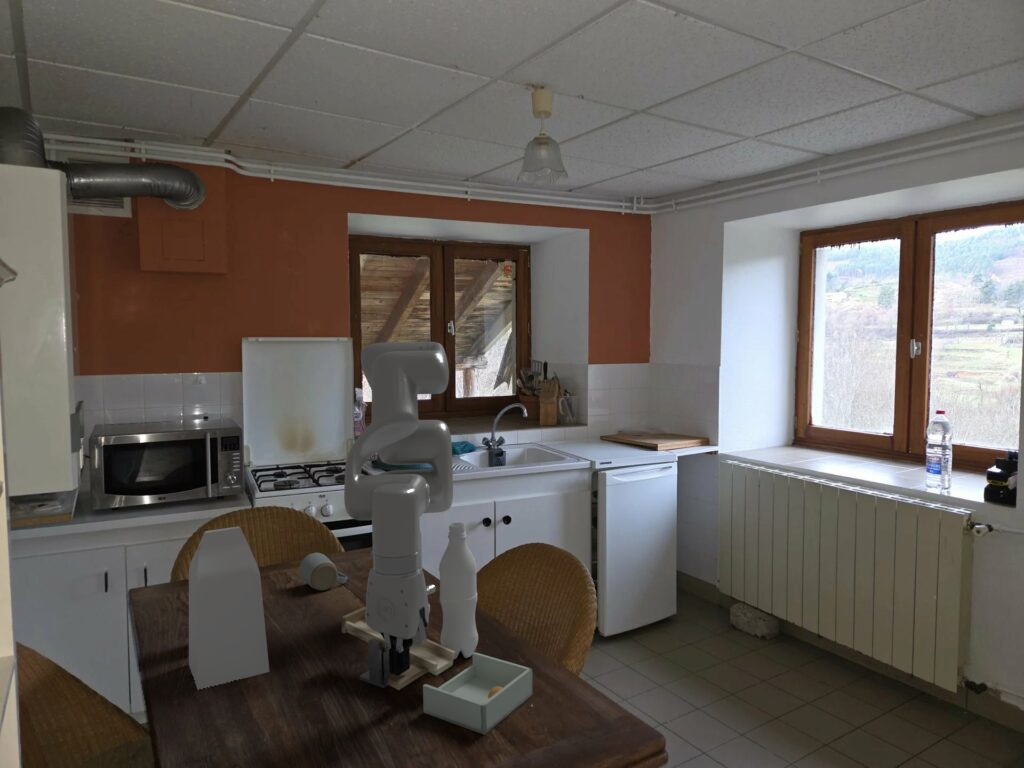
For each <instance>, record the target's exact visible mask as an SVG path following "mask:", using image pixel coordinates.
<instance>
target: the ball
mask: <svg viewBox="0 0 1024 768" xmlns="http://www.w3.org/2000/svg"><path fill="white" fill-rule="evenodd" d="M501 689H502V687H499V686H497V687H494V688H492V689H491V690H490V692H489V694H488V699H489V698H490V697H492V696H493V695H494V694H496V693H497V692H498V691H500V690H501Z"/></svg>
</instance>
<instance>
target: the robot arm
mask: <svg viewBox="0 0 1024 768" xmlns="http://www.w3.org/2000/svg"><path fill="white" fill-rule="evenodd" d="M360 363H361V367H362V372H363V375H364V377H365V379H366V381H367V383H368V385H369V388H370V390H371V422H370V424H369V425H368V426H367V427H366V428H365V430H363V431H362V432H361V433H360V434H359V436H358V437H357V438H356V439H355V440H354V443H353V444H352V446H351V447H350V450H349V452H348V454H347V457H346V461H345V468H344V486H343V487H344V488H343V489H344V490H343V491H344V492H343V494H344V495H343V498H344V499H343V500H344V501H343V502H344V508H345V511H346V513H347V515H348V516H349V517H350V518H351V519H353V520H355V521H371V528H372V529H371V531H372V550H371V551H370V557H371V558H372V560H373V561H372V562H373V563H372V564H373V565H372V566H373V567H371V568H370V569H369V572H368V579H367V584H366V595H365V597H366V598H365V600H366V601H365V607H366V623H367V625H368V626H369V627H370V628H371V629H373V630H375V631H377V632H378V633H380V634H381V635H382V637H383V638H384V640H385V646H386V648H387V649H389V672H390V673H391V674H395V675H397V676H399V675H400V674H402V673H404V672H405V671H407V670H408V669H409V668H410V647H411V646H412V645H413V644H422V643H423V642H425V641H426V640H427V639H428V638H427V634H426V630H428V628H429V623H430V621H429V620H430V617H429V616H430V612H431V605H430V603H429V598H428V596H430V595H431V594H434V593H435V592H436V591H437V589H436V586H435V585H434V584H431V583H430V584H429V585H427V584H426V580H425V575H424V570H423V550H422V549H423V548H422V546H423V545H422V541H423V540H422V533H421V529H420V525H421V523H420V517H421V516H423V515H424V514H436V513H443V512H446V511H448V510H449V509H450V508H451V507H452V505H453V499H454V481H453V480H454V478H453V476H454V474H453V473H454V471H453V444H452V435H451V431H450V428H449V426H448V425H447V423H446V422H444V421H443V420H438V419H422V420H421V419H419V406H418V405H419V403H418V402H419V401H418V395H436V394H437V395H438V394H443V393H444V392H445V391H446V390H447V387H448V385H449V379H450V370H449V361H448V357H447V354H446V351H445V348H444V346H443V345H442V344H441V343H439V342H437V341H387V342H376V343H375V342H374V343H370V344H367V345H366V346H365V347H363V349H362V350H361V351H360ZM376 453H378V456H379V457H378V458H379V459H380V461H381V462H382V463H384V464H387V465H393V466H400V465H401V466H404V465H426V464H427V465H430V466H431V467H432V468H430V469H429V468H428V469H427V468H426V469H425V468H424V469H423V468H422V469H398V470H397V469H395V470H389V471H384V472H381V473H380V474H368V475H367V474H366V475H362V472H363V467H364V464H365V463H366V462H367V461H368V460H369V459H370V458H371V457H372V456H373V455H375V454H376Z"/></svg>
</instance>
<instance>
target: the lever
mask: <svg viewBox="0 0 1024 768" xmlns="http://www.w3.org/2000/svg"><path fill="white" fill-rule="evenodd" d="M341 633H343V634H346V633H348V634H349V635H352V636H354V637H357V638H358V639H360V640H361V641H364V642H367V643H368V641H369V640H371V639H372V640H375V641H379V642H381V649H383V650H385V651H387V652H389V649H387V648H386V646H385V640H384V638H383V637H382V635H381V634H380V633H378V632H377V631H375V630H373V629H371V628H370V627H369V626H368V625H367V623H366V606H363V607H361V608H358V609H356V610H354V611H352V612H349V613H347V614H345V615H343V616H342V620H341ZM455 656H456V652H455V651H453V650H451V649H449V648H446V647H444V646H442V645H441V643H438V642H435V641H433V640H430V639H429V638H427V640H426V641H425V642H423V643H422V644H413V645H412V646H411V647H410V663H412V665H410V668H409V669H408V670H407V671H405V672H404V673H402V674H400V675H399V676H397V675H393V676H392V677H390V678H388V685H389V686H390V687H392V688H394V689H396V690H398V691H400V690H401V689H403V688H404V687H406V686H407V685H409V684H411V683H412V682H414V681H415V680H417V679H419V678H420V677H422V676H423V675H425V674H426V673H431V674H432V675H435V676H438V675H439V674H441V673H443V672H444V671H445V670H448V669H449V668H451V667H452V666H453V665H454V660H456V659H455Z"/></svg>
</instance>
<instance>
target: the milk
mask: <svg viewBox="0 0 1024 768" xmlns="http://www.w3.org/2000/svg"><path fill="white" fill-rule="evenodd" d="M243 532H244V531H242V529H241V527H240V526H239V525H238V526H233V527H225V528H219V529H211V530H206V531H204V533H203V535H202V537H201V539H200V542H199V544H198V547H197V549H196V550H195V553H194V555H193V557H192V559H191V561H190V564H189V568H188V569H189V570H188V667H189V669H190V672H191V675H192V676H193V677H194V678H193V680H195V681H194V683H195V686H196V689H197V691H200V690H199V689H201V690H204V689H203V688H205V689H208V688H211V687H210V686H212V687H215V685H216V686H220V685H224V684H228V683H231V681H232V682H235V681H234V680H236V681H240V680H242V679H247V678H250V677H255V676H259V675H263V674H266V673H269V672H270V664H269V654H268V642H267V633H266V624H265V623H266V622H265V613H264V611H265V610H264V603H263V592H262V581H261V573H260V569H259V566H258V564H257V560H256V559H255V557H254V555H253V551H252V550H251V547H250V545H249V543H248V542H247V541H248V540H247V539H246V536H245V534H244V533H243ZM239 679H240V680H239ZM227 682H228V683H227ZM219 684H220V685H219ZM207 687H208V688H207Z"/></svg>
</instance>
